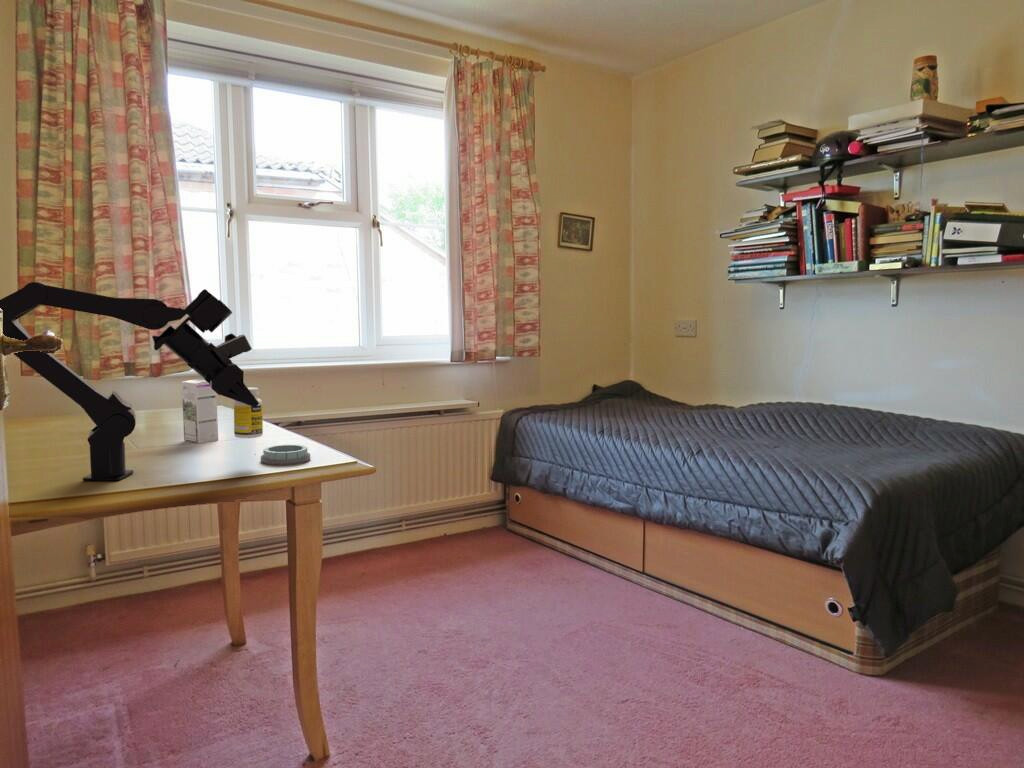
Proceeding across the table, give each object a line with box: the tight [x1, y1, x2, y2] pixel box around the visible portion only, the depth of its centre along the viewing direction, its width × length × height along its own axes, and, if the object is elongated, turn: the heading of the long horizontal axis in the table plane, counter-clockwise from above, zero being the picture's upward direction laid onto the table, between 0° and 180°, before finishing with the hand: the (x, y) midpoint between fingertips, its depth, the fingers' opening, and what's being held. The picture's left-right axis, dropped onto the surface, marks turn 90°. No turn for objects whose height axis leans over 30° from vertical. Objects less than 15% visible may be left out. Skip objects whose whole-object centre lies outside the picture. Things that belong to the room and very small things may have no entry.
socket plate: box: [260, 444, 311, 466], centre depth 151 cm, size 10×10×2 cm
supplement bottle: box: [233, 386, 264, 439], centre depth 144 cm, size 5×5×10 cm
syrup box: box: [181, 379, 219, 444], centre depth 170 cm, size 6×6×14 cm
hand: (255, 403), depth 145 cm, fingers closed on supplement bottle, 5 cm apart
